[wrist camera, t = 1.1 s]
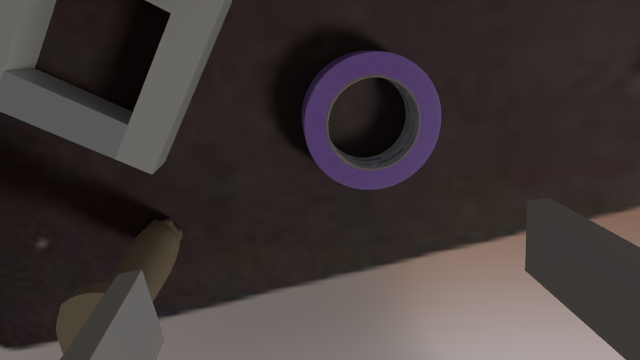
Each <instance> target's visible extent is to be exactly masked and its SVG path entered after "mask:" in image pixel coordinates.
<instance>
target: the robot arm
mask: <svg viewBox="0 0 640 360" xmlns="http://www.w3.org/2000/svg"><path fill="white" fill-rule="evenodd" d="M525 271H526V272H528V273H529V274H530V275H531V276H532V277H533V278H534V279H536V280H537V281H538V282H539V283H540V284H541V285H542V286H543V287H545V288H546V289H547V290H548V291H549V292H550V293H552V294H553V295H554V296H555V297H556V298H557V299H558V300H559V301H560V302H562V303H563V304H564V305H565V306H566V307H567V308H568V309H569V310H570V311H572V312H573V313H574V314H575V315H576V316H577V317H578V318H580V319H581V320H582V321H583V322H584V323H585V324H586V325H587V326H589V327H590V328H591V329H592V330H593V331H594V332H595V333H596V334H598V335H599V336H600V337H601V338H602V339H603V340H605V341H606V342H607V343H608V344H609V345H610V346H611V347H612V348H613V349H615V350H616V351H617V352H618V353H619V354H620V355H622V357H624V358H625V359H626V360H640V247H638V246H636V245H634V244H632V243H630V242H628V241H627V240H625V239H623V238H621V237H619V236H618V235H616V234H614V233H612V232H610V231H609V230H607V229H605V228H603V227H601V226H599V225H597V224H596V223H594V222H592V221H590V220H589V219H587V218H585V217H583V216H581V215H579V214H578V213H576V212H574V211H572V210H570V209H568V208H567V207H565V206H563V205H561V204H559V203H558V202H556V201H554V200H552V199H550V198H543V199H537V200H532V201H527V229H526V262H525ZM163 340H164V336H163V333H162V330H161V327H160V324H159V321H158V318H157V315H156V311H155V308H154V305H153V302H152V299H151V296H150V293H149V290H148V287H147V284H146V281H145V277H144V274H143V271H142V270H137V271H132V272H126V273H121V274H118V275H117V276H116V278H115V279H114V281H113V282H112V284H111V285H110V287H109V288H108V290H107V291H106V293H105V294H104V296H103V297H102V298H101V300H100V301H99V303H98V304H97V306H96V307H95V309H94V310H93V312H92V313H91V315H90V316H89V318H88V319H87V321H86V322H85V324H84V325H83V327H82V328H81V330H80V331H79V333H78V334H77V336H76V337H75V339H74V340H73V342H72V343H71V345H70V346H69V347H68V349H67V350H66V352H65V353H64V355H63V356H62V358H61V359H60V360H157V357H158V354H159V351H160V349H161V346H162V343H163Z"/></svg>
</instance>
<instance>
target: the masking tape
mask: <svg viewBox="0 0 640 360" xmlns="http://www.w3.org/2000/svg"><path fill="white" fill-rule="evenodd" d="M370 77H380V78H384V79H386V80H388V81H389V82H391V83H392V84H393V85H394V86H395V87H396V88H397V89H398V91H399V92H400V94H401V96H402V98H403V100H404V104H405V109H406V119H405V124H404V128H403V130H402V133H401V135H400V136H399V138H398V139H397V141H396V142H395V143H394V144H393V145H392V146H391V147H390V148H389V149H388V150H386V151H385V152H383V153H381V154H379V155H376V156H372V157H366V158H359V157H354V156H350V155H348V154H345V153H344V152H342V151H340V150H339V149H338V148H337V147H336V146H335V145H334V144H333V143H332V142H331V140H330V137H329V132H328V119H329V114H330V111H331V108H332V106H333V103H334V102H335V100H336V99H337V97H338V96H339V95H340V93H341V92H342V91H343V90H344V89H346V88H347V87H348V86H350V85H351V84H353V83H355V82H357V81H359V80H362V79H365V78H370ZM301 119H302V129H303V133H304V137H305V140H306V144H307V146H308V149H309V152H310V154H311V156H312V158H313V159H314V161H315V162H316V164H317V165H318V166H319V167H320V169H321V170H322V171H323V172H324V173H325V174H327V175H328V176H329V177H330V178H332V179H333V180H335V181H337V182H339V183H341V184H343V185H345V186H348V187H352V188H356V189H364V190H373V189H381V188H386V187H390V186H393V185H395V184H397V183H399V182H401V181H403V180H405V179H407V178H408V177H410V176H411V175H412V174H414V173H415V172H416V171H417V170H418V169H419V168H420V167H421V166H422V165H423V164H424V163H425V162H426V160H427V159H428V157H429V156H430V154H431V152H432V151H433V149H434V147H435V144H436V142H437V139H438V136H439V131H440V126H441V107H440V102H439V97H438V94H437V92H436V89H435V87H434V85H433V83H432V82H431V80H430V78H429V77H428V76H427V75H426V73H425V72H424V71H423V70H422V69H421V68H420V67H418V66H417V65H416V64H415V63H413V62H412V61H410V60H408V59H407V58H405V57H402V56H400V55H398V54H394V53H390V52H384V51H357V52H352V53H349V54H346V55H343V56H341V57H339V58H337V59H335V60H333V61H332V62H330V63H329V64H328V65H326V66H325V67H324V68H323V69H322V70H321V71H320V72H319V73H318V74H317V75H316V77H315V78H314V79H313V81H312V82H311V84H310V86H309V88H308V90H307V92H306V95H305V98H304V101H303V106H302V117H301Z"/></svg>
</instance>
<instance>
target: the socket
mask: <svg viewBox="0 0 640 360" xmlns="http://www.w3.org/2000/svg"><path fill="white" fill-rule="evenodd" d="M146 1H148V2H150V3H152V4H154V5H156V6H158V7H160V8H161V9H163V10H165V11H167V12H169V13H171V15H170V18H169V20H168V23H167V25H166V28H165V31H164V33H163V36H162V38H161V41H160V44H159V46H158V49H157V51H156V54H155V56H154V59H153V62H152V64H151V67H150V69H149V72H148V75H147V77H146V80H145V82H144V85H143V88H142V90H141V93H140V95H139V98H138V101H137V103H136V106H135V108H134V111H133V112H132V111H129V110H127V109H125V108H123V107H120V106H118V105H116V104H114V103H111V102H109V101H107V100H105V99H103V98H100V97H98V96H96V95H94V94H91V93H89V92H87V91H85V90H82V89H80V88H78V87H76V86H73V85H71V84H69V83H67V82H64V81H62V80H60V79H58V78H55V77H53V76H51V75H49V74H46V73H44V72H42V71H40V70H38V69H35V66H36V63H37V60H38V57H39V54H40V50H41V47H42V44H43V41H44V38H45V35H46V32H47V28H48V25H49V22H50V19H51V16H52V13H53V9H54V6H55V3H56V0H0V112H3V113H5V114H7V115H10V116H12V117H15V118H17V119H19V120H22V121H24V122H27V123H29V124H32V125H34V126H36V127H39V128H41V129H44V130H46V131H48V132H51V133H53V134H56V135H58V136H60V137H63V138H65V139H68V140H70V141H72V142H75V143H77V144H80V145H82V146H84V147H87V148H89V149H92V150H94V151H97V152H99V153H101V154H104V155H106V156H109V157H111V158H113V159H116V160H118V161H121V162H123V163H125V164H128V165H130V166H133V167H135V168H137V169H140V170H142V171H145V172H147V173H150V174H153V173H154V172H155V171H156V170H157V169H158V168H159V167H160V166H161V165H162V164H163V163H164V162H165V160H166V158H167V156H168V153H169V151H170V148H171V146H172V144H173V141H174V139H175V136H176V134H177V132H178V129H179V127H180V124H181V122H182V120H183V117H184V115H185V113H186V110H187V108H188V105H189V103H190V101H191V98H192V96H193V93H194V91H195V89H196V86H197V84H198V81H199V79H200V77H201V74H202V72H203V70H204V67H205V65H206V62H207V60H208V58H209V55H210V53H211V50H212V48H213V46H214V43H215V41H216V38H217V36H218V34H219V31H220V29H221V27H222V24H223V22H224V19H225V17H226V15H227V12H228V10H229V7H230V5H231V3H232V0H146Z"/></svg>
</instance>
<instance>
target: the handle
mask: <svg viewBox="0 0 640 360" xmlns="http://www.w3.org/2000/svg"><path fill="white" fill-rule="evenodd" d="M181 238H182V230H181V229H180V228H178V227H176V226H175V225H174V223H173V222H172V220H171V219H168V218H167V219H165V220H162V221H159V220H154V221H153V222H151V223H150V224H149V225H148V227H147V228H146V229H144V230H143V231H142V232H141V233H140V234H139V235H138V236H137V237H136V238H135V239H134V240H133V241H132V242H131V244H130V245H129V246H128V248H127V249H126V250H125V252H124V253H123V255H122V257H121V259H120V260H119V262H118V264H117V265H116V267H115V269H114V271H113V272H112V274H111V276H110V277H109V279H108V281H107V282H103V283H93V284H88V285H85V286H83V287H80V288H79V289H77V290H75V291H74V292H73V293H72V294H70V295H69V296H68V297H67V298H66V300H65V301H64V302H63V303H62V304H61V307H60V311H59V315H58V319H57V324H56V333H57V338H58V341H59V343H60V346H61V349H62V352H63V354H64V353H65V352H66V350H67V349H68V347H69V346H70V345H71V343H72V342H73V340H74V339H75V337H76V336H77V334H78V333H79V331H80V330H81V328H82V327H83V325H84V324H85V322H86V321H87V319H88V318H89V316H90V315H91V313H92V312H93V310H94V309H95V307H96V306H97V304H98V303H99V301H100V300H101V298H102V297H103V296H104V294H105V293H106V291H107V290H108V288H109V287H110V285H111V284H112V282H113V281H114V279H115V278H116V276H117V275H118V274H121V273H126V272H132V271H137V270H142V271H143V274H144V277H145V281H146V284H147V287H148V290H149V293H150V296H151V299H152V302H153V301H154V299H155V297H156V295H157V294H158V292H159V290H160V289H161V287H162V286H163V284H164V282H165V281H166V279H167V277H168V276H169V274H170V272H171V270H172V267H173V265H174V263H175V260H176V257H177V254H178V250H179V244H180V240H181Z"/></svg>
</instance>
